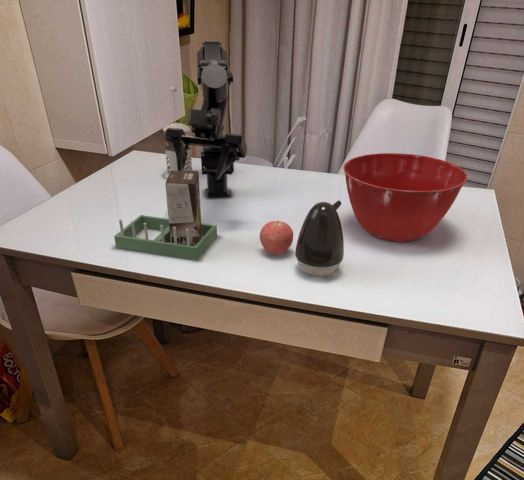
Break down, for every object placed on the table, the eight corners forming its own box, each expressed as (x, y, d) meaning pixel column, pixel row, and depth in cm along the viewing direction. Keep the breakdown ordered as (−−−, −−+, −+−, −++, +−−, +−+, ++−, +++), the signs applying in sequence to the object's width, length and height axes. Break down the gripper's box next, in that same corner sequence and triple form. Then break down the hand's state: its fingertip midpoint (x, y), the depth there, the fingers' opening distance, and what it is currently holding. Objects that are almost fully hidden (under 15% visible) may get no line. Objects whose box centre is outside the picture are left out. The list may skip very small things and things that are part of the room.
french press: (160, 179, 153) (150, 88, 138) (171, 167, 162) (163, 81, 147) (190, 181, 152) (184, 90, 137) (200, 169, 161) (196, 83, 146)
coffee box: (199, 254, 113) (194, 183, 103) (170, 253, 113) (163, 182, 103) (203, 237, 120) (199, 169, 111) (176, 236, 120) (170, 169, 111)
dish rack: (142, 226, 125) (138, 199, 121) (217, 236, 121) (216, 209, 116) (116, 248, 115) (111, 219, 111) (197, 260, 111) (195, 231, 106)
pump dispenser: (351, 271, 108) (361, 203, 99) (320, 287, 102) (327, 216, 93) (315, 255, 114) (321, 189, 105) (284, 270, 108) (288, 201, 99)
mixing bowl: (324, 244, 119) (331, 179, 109) (349, 203, 140) (356, 146, 131) (446, 265, 111) (465, 197, 102) (453, 219, 133) (469, 159, 123)
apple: (298, 253, 114) (301, 220, 109) (275, 263, 110) (276, 229, 106) (277, 242, 119) (278, 210, 114) (253, 251, 115) (254, 218, 110)
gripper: (163, 89, 110) (147, 154, 109) (243, 95, 107) (228, 163, 105) (179, 119, 121) (165, 178, 120) (253, 126, 118) (239, 187, 116)
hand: (198, 176), depth 115 cm, fingers open, 9 cm apart
